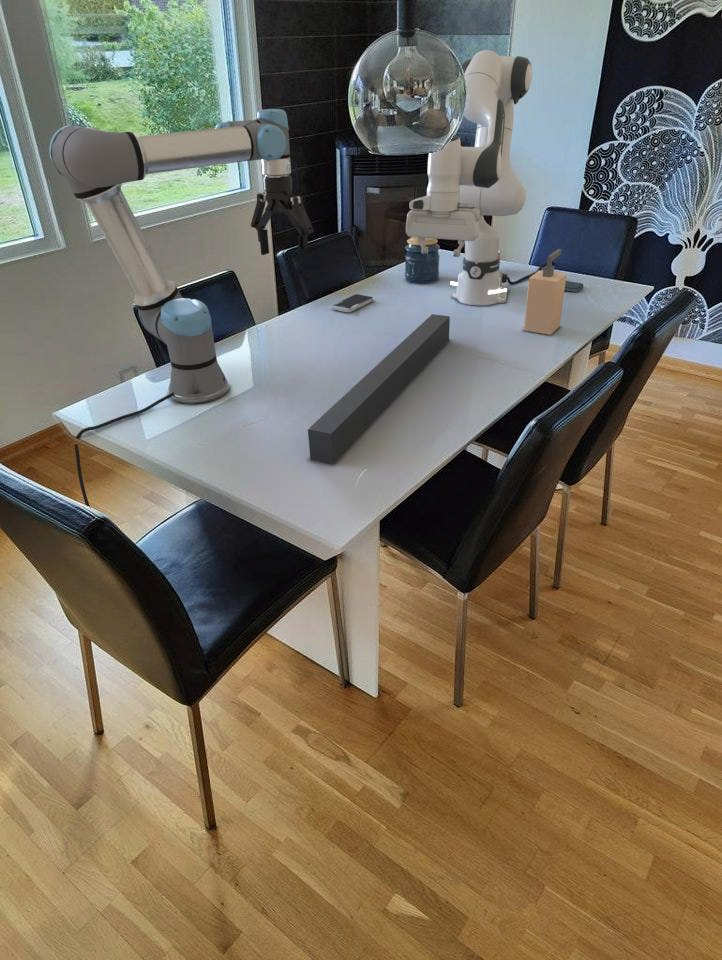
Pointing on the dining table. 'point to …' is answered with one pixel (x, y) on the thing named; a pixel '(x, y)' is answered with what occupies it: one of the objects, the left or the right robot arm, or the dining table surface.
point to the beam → (376, 391)
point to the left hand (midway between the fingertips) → (283, 256)
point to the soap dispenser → (545, 299)
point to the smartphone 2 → (573, 286)
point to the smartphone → (352, 303)
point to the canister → (422, 261)
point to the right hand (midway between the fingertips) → (440, 255)
